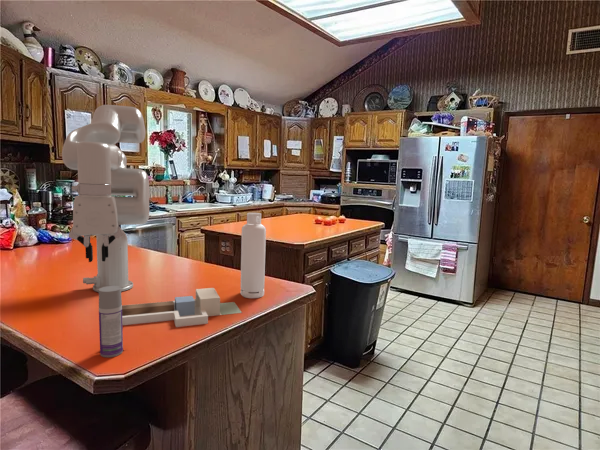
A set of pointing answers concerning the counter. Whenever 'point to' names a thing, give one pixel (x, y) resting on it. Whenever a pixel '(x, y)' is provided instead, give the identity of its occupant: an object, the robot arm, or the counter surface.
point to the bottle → (253, 257)
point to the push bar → (147, 308)
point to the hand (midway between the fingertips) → (97, 260)
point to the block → (185, 305)
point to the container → (110, 321)
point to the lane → (204, 307)
